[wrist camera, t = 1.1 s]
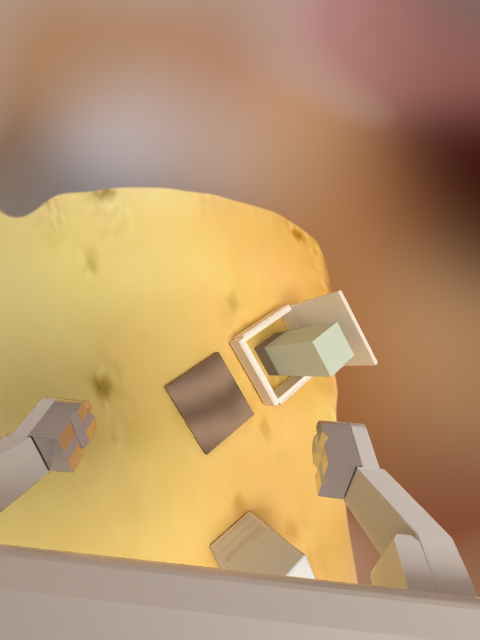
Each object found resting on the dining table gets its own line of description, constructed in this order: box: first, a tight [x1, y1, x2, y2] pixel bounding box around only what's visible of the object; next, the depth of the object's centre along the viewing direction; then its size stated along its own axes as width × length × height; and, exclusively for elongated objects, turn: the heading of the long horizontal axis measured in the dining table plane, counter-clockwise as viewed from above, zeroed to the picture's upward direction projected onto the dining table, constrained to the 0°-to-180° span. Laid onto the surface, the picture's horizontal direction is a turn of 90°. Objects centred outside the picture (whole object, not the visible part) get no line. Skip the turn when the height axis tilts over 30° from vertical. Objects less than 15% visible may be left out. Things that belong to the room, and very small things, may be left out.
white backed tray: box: [230, 290, 378, 406], centre depth 44 cm, size 12×12×14 cm
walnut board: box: [164, 352, 254, 455], centre depth 44 cm, size 11×9×1 cm
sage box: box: [254, 322, 354, 377], centre depth 44 cm, size 5×5×14 cm
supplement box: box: [210, 511, 316, 579], centre depth 38 cm, size 7×7×13 cm
